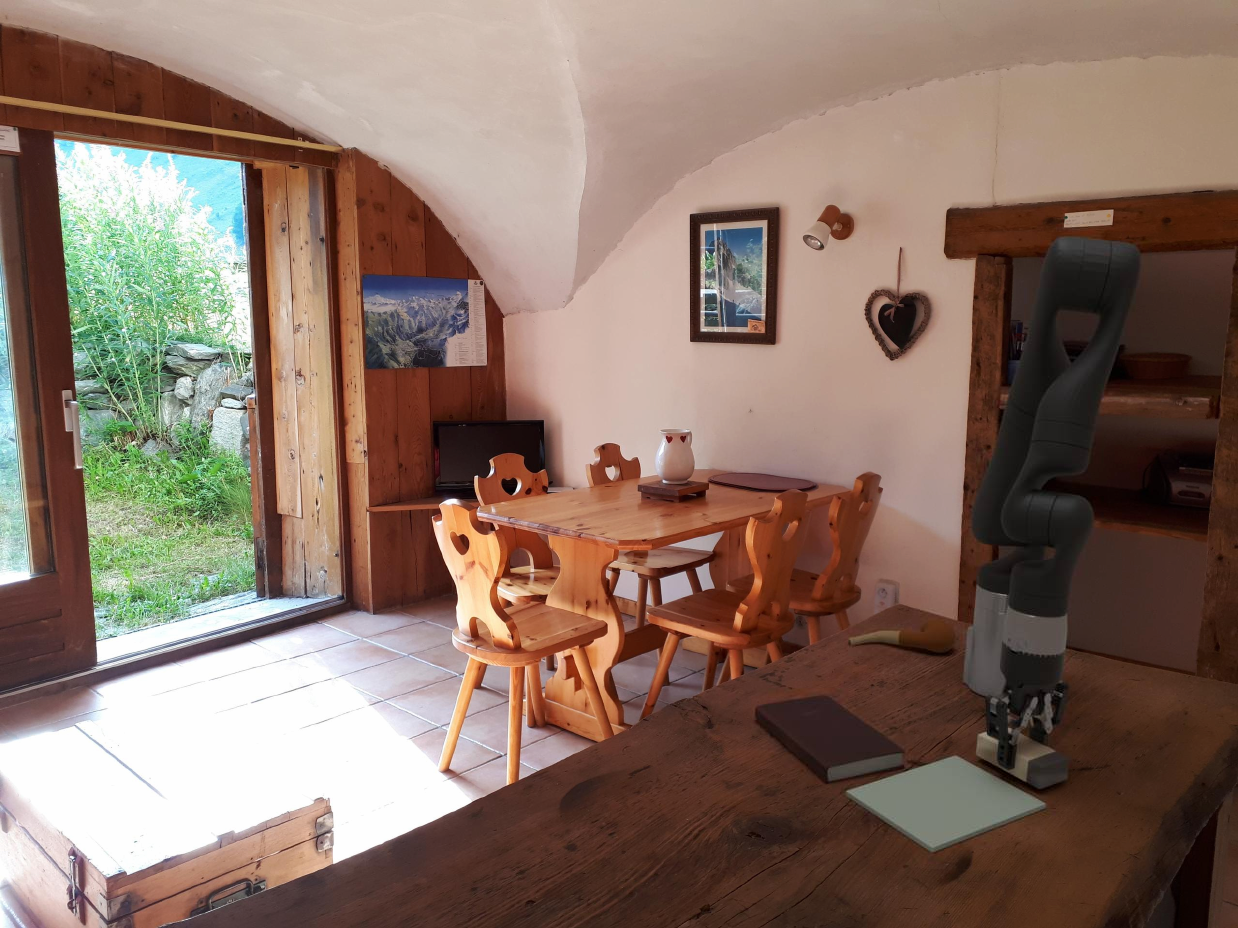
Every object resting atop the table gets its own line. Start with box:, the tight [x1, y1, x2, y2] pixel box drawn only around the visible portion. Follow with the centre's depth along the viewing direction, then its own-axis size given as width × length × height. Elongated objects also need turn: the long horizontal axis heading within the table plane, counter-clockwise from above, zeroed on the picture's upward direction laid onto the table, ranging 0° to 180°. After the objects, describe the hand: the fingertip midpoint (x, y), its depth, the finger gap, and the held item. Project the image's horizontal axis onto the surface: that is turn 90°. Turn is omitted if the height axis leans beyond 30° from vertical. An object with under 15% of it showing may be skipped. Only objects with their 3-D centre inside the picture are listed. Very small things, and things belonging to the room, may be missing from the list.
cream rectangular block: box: [975, 727, 1071, 790], centre depth 125 cm, size 10×6×3 cm, turn 29°
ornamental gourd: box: [847, 617, 956, 654], centre depth 168 cm, size 7×18×6 cm, turn 89°
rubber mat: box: [845, 754, 1047, 854], centre depth 117 cm, size 14×20×1 cm
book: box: [754, 694, 906, 784], centre depth 132 cm, size 12×19×3 cm, turn 20°
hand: (1021, 761), depth 125 cm, fingers closed on cream rectangular block, 5 cm apart
